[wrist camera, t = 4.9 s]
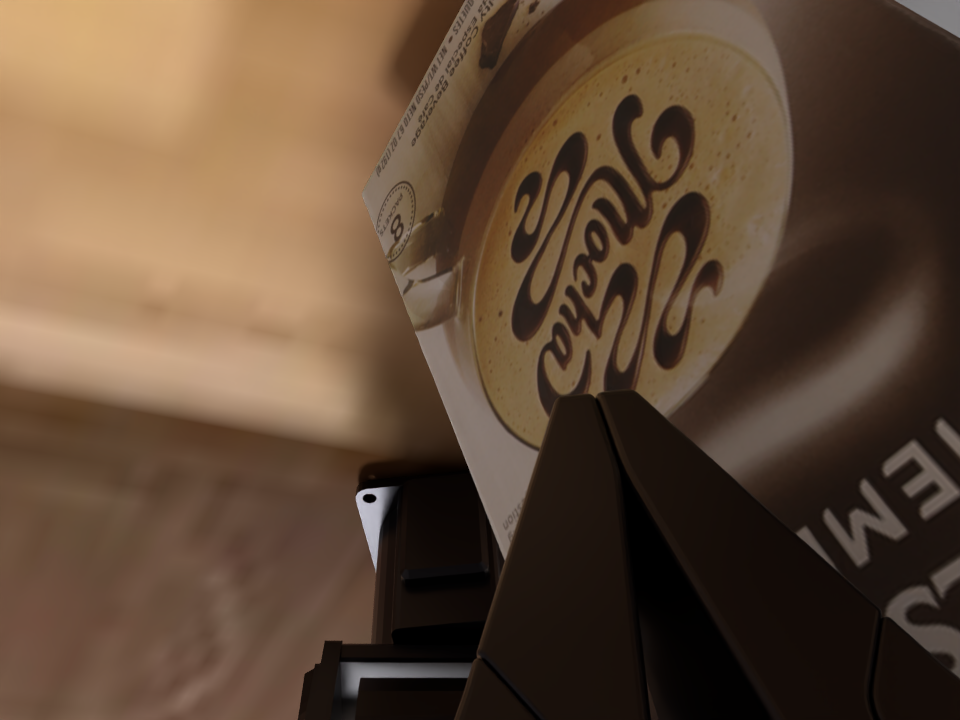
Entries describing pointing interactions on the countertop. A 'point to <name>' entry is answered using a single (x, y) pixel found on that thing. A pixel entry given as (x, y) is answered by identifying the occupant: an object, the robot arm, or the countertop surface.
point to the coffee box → (703, 257)
